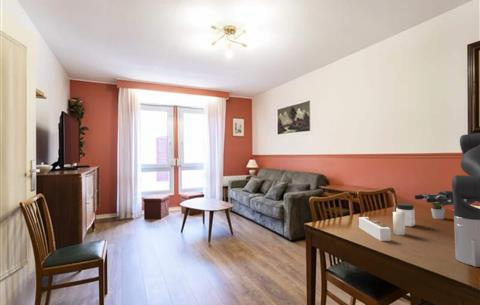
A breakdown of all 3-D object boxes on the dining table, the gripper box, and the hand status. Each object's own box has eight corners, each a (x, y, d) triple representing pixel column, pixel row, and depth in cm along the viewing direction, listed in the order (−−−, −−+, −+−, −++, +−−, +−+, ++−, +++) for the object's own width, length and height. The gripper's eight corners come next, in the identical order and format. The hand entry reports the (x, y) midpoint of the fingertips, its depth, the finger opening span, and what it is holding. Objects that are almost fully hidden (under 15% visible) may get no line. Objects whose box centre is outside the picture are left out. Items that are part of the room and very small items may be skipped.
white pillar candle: (407, 235, 125) (406, 213, 125) (397, 235, 125) (396, 214, 125) (401, 232, 130) (400, 211, 131) (391, 232, 131) (390, 211, 131)
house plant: (450, 216, 159) (449, 191, 159) (458, 221, 146) (457, 194, 146) (423, 214, 165) (422, 190, 165) (429, 219, 152) (428, 193, 152)
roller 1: (380, 221, 143) (377, 220, 145) (368, 221, 143) (366, 220, 146) (380, 225, 142) (378, 225, 145) (368, 225, 143) (366, 225, 145)
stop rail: (390, 240, 118) (390, 228, 118) (380, 240, 118) (380, 228, 118) (367, 227, 140) (367, 216, 140) (358, 227, 140) (358, 217, 140)
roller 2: (385, 229, 138) (386, 225, 137) (373, 229, 138) (374, 226, 137) (383, 226, 140) (384, 222, 139) (370, 226, 140) (371, 222, 139)
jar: (410, 227, 138) (409, 206, 138) (394, 224, 145) (393, 204, 145) (416, 224, 143) (416, 204, 143) (401, 221, 150) (400, 202, 150)
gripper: (440, 188, 135) (411, 189, 135) (463, 192, 121) (431, 193, 121) (441, 202, 135) (411, 203, 135) (464, 207, 121) (431, 208, 121)
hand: (420, 198), depth 128 cm, fingers open, 8 cm apart
